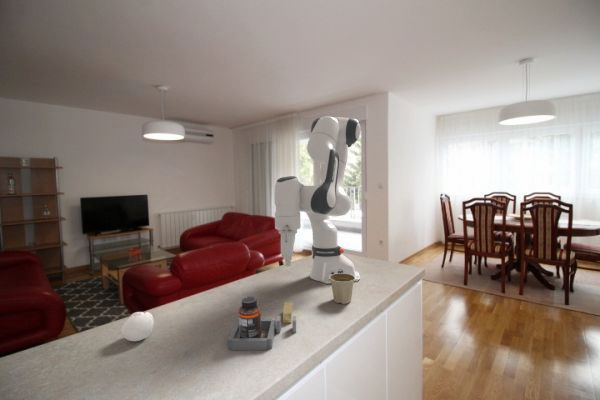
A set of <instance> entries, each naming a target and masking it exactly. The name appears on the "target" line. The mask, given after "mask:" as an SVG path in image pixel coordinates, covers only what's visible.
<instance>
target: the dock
mask: <svg viewBox="0 0 600 400" xmlns="http://www.w3.org/2000/svg"><path fill="white" fill-rule="evenodd" d="M281 318H282V317H281V315H277V316H276V319H272V318H261V330H268V333H267V337H261V338H240V337H239V336H240V331H239V319H238V320H236V322H235V324H234V326H233V327H232V330H231V332H230V334H229V336H228V338H227V349H228V350H232V351H267V350H268V349H269V350H270V349H273V345H274V339H275V333H276V334H280V333H281V330H282V321H281V320H282V319H281ZM291 324H292V325H291V326H292V333H294V334H296V333H297V315H292V323H291Z"/></svg>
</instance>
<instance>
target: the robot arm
mask: <svg viewBox="0 0 600 400" xmlns="http://www.w3.org/2000/svg"><path fill="white" fill-rule="evenodd" d="M361 130H362V129H361V123H360V121H359V120H358V119H357V118H353V117H342V116H341V117H340V116H335V117H334V116H331V115H325V116H322V117H317V118H315V119H314V120H313V122H312V123H311V125H310V135H309V139H308V142H307V144H306V151H307V154H308V156H309V157H310V158H311V159H312V160H313V161H315V162H316V163H318V164H321V166H320V170H319V173H318V177H319V179H320V181H321V183H319V184H317V185H305V184H303V183H301V182H300V181H299V178H298V177H297V176H293V175H291V176H289V175H288V176H282V177H280V178H278V179H277V180H276V181H275V184H274V192H273V193H274V195H273V196H274V198H273V199H274V200H273V201H274V202H273V203H274V205H275V212H274V229H276V230H277V231H278V234H280V256H281V257H284V261H285V263H284V264H285V267H290V266H291V265H292V263H291V262H292V259H293V253H294V246H295V240H296V234H297V233H298V230H300V229H301V226H302V225H301V212H304V213H305V214H306V216H307V217H308V220H309V222H310V224H311V231H312V245H311V257H312V264H311V271H310V274H309V278H310V279H312V280H314V281H317V282H321V283H323V284H325V285H326V284H327V285H328V284H331V282H330V279H329V276H330V275H332V274H336V273H346V274H351V275H353V276H355V280H354V282H359V281H360V280H361V275H360V273H359V272H358V271H357V270H356V269H355V265H354V263H353V262H352V260H351V259H349V258H348V256H345V255H344V253H345V250H344V248H343V247H341V246H340V245H338V228H337V227H336V226H335V225H334V224H333V223H332V221H331V220H330V217H340V216H341V217H342V216H345V215H347V214H348V213H349V212H350V208H351V206H352V205H351V204H352V203H351V202H352V201H351V198H350V197H349V195H348V194H347V193H346V191H345V187H344V177H345V172H346V166H347V163H348V156H349V155H348V154H349V153H348V152H349V148H350V147H352V145H353V144H355V143H357V141H358V140H359V137H360V135H361V132H362V131H361ZM359 279H360V280H359ZM358 280H359V281H358Z"/></svg>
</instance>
